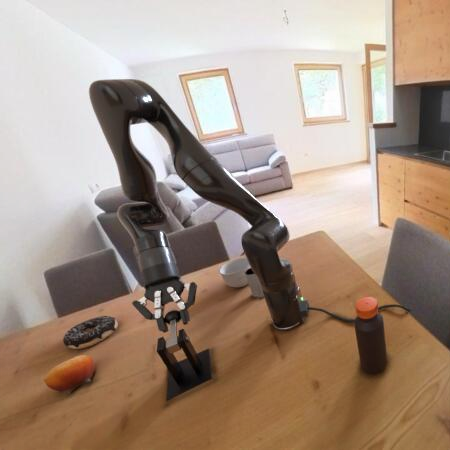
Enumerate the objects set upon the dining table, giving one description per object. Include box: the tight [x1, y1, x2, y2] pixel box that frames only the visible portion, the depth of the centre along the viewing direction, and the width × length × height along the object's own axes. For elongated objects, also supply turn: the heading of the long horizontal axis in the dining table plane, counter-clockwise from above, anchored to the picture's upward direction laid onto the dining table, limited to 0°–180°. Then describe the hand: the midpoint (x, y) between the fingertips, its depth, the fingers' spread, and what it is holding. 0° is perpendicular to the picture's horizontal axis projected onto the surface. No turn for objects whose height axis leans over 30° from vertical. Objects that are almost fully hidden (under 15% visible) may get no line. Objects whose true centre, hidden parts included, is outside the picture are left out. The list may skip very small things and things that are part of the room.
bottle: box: [353, 296, 388, 376], centre depth 66 cm, size 7×7×20 cm
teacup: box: [219, 254, 251, 288], centre depth 104 cm, size 14×11×8 cm
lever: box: [164, 309, 182, 354], centre depth 69 cm, size 13×4×4 cm, turn 36°
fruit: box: [43, 354, 95, 394], centre depth 69 cm, size 8×8×8 cm
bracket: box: [156, 328, 213, 402], centre depth 68 cm, size 11×9×13 cm
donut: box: [62, 315, 119, 350], centre depth 83 cm, size 11×12×4 cm
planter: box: [245, 268, 264, 300], centre depth 95 cm, size 4×4×10 cm
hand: (176, 327), depth 72 cm, fingers closed on lever, 3 cm apart
